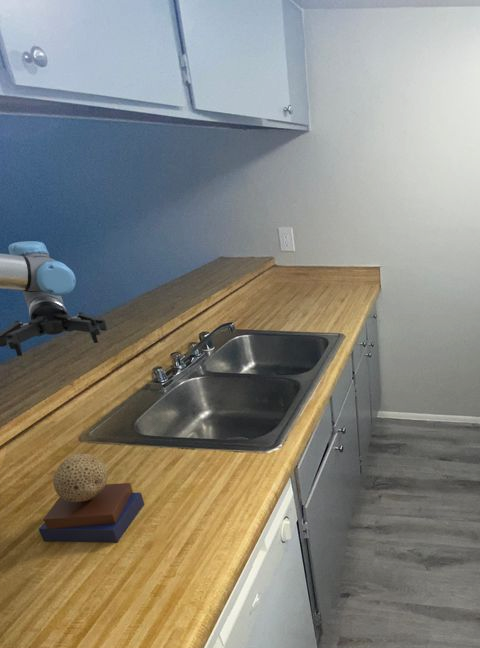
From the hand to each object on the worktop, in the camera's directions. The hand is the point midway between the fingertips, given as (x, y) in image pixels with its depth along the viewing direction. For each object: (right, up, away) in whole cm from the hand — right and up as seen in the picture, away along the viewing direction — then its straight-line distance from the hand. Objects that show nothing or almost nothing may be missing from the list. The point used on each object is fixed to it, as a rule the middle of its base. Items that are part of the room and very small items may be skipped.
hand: (57, 343), depth 100 cm
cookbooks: (+11, -37, -4) cm, 39 cm away
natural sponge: (+11, -32, -7) cm, 35 cm away
